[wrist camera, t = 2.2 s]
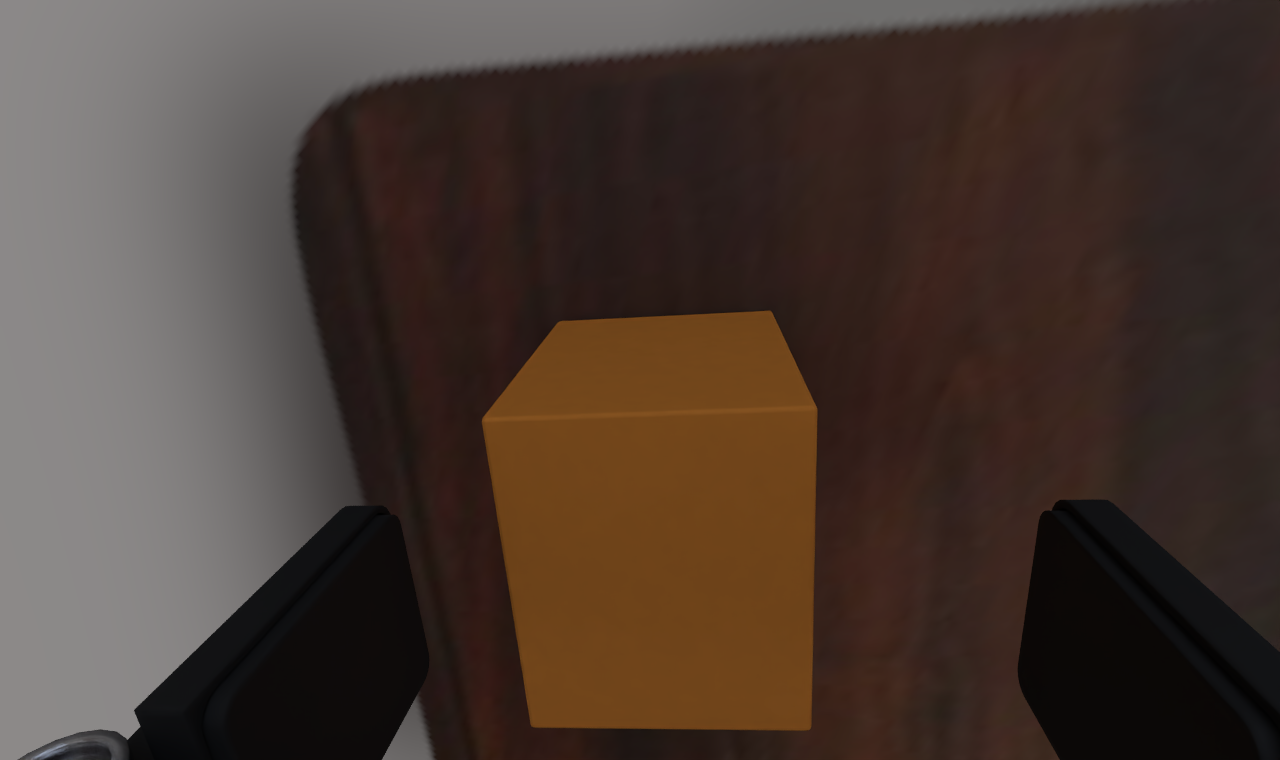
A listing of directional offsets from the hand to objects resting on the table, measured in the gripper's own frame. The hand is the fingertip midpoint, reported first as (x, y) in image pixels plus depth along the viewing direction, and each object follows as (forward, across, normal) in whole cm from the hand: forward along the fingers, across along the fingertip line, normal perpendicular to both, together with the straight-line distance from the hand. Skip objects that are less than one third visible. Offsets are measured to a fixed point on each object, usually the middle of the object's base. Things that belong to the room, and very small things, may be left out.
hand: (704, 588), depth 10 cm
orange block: (+6, +1, 0) cm, 6 cm away
